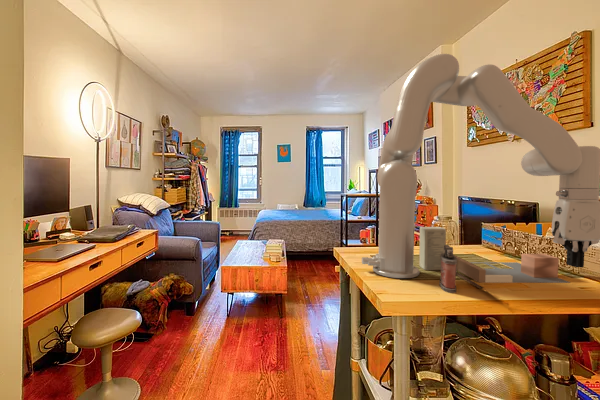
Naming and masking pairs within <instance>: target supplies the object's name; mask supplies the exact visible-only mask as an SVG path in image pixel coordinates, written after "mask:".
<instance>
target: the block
mask: <svg viewBox="0 0 600 400" xmlns="http://www.w3.org/2000/svg"><path fill="white" fill-rule="evenodd" d="M520 259H521V261H520V264H521V272H522V273H524V274H527V275H529V276H531V277H534V278H559V261H560V258H559V257H556V256H552V255H549V254H547V253H521V258H520Z"/></svg>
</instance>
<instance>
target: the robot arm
mask: <svg viewBox="0 0 600 400" xmlns="http://www.w3.org/2000/svg"><path fill="white" fill-rule="evenodd" d="M459 73H460V64H459V61H458V59H457V58H456V57H455V56H454V55H453V54H450V53H440V54H436V55H432V56H430V57H429V58H427V59H425V60H424V61H422V62H421V63H419V64H418V65H417V66H416V67H415V68H414V69H413V70H412V71H411V72H410V74H409V75H408V76H407V77H406V79H405V81H404V83H403V84H402V87H401V89H400V93H399V95H398V98H397V102H396V106H395V110H394V114H393V119H392V124H391V127H390V129H389V131H388V133H387V134H386V136H385V137H384V140H383V145H382V150H381V154H380V160H379V164H378V170H377V174H376V176H377V177H376V179H377V184H378V186H379V202H378V205H379V206H378V207H379V208H378V253H375V256H374V255H373V256H372V257H367V256H366V257H364V256H363V257H361V265H367V266H371V267H372V271H373V272H374V273H375V274H377V275H378V276H379V275H380V276H383V277H388V278H393V279H411V278H416V277H418V276H419V275H420V269H419V268H418V267H416V266H415V265H414V261H415V260H414V258H415V257H414V255H415V253H414V252H415V248H414V247H415V212H416V211H415V209H416V197H417V189H418V175H417V172H416V169H415V168H414V166H413V165H412V163H413V159H414V154H416V152H418V150H419V149H420V148H421V146H422V143H423V138H424V133H425V126H426V123H427V116H428V113H429V109H430V106H431V103H438V104H443V105H445V104H446V105H451V106H459V107H474V106H475V107H476V106H478V107H479V109H480V110H481V111H482V112H483V114H484V115H485V116H486V118H487V119H488V120H489V122H490V123H491V124H492V126H493V127H494V128H495V129H497V130H499V131H501V132H504V133H506V134H510V135H514V136H517V137H519V138H521V139H523V140H524V141H526V142H527V143H528V144H529V145H531V146H532V147H533V149H531V150H529V151H528V152H526V153H525V154H524V155H523V157H522V158H521V163H520V165H521V168H522V170H523V171H524V172H525V173H527V174H529V175H531V176H534V177H549V176H550V177H551V176H559V184H558V185H559V186H558V190H557V191H556V192H555V196H556V197H558V200H556V201H555V204H554V209H553V212H552V213H553V214H552V218H551V220H552V221H551V234H552V236H553V240H552V242H553V243H554V244H559V245H561V246H563V249H564V250H565V251H566V265H568V266H570V267H573V268H584V266H585V253H588V250H589V247H591V246H592V245H596V244H599V243H600V148H599V147H598V146H595V145H583V146H580V145H578V144H577V142H576V141H575V140H574V138H573V137H572V136H571V134H569V131H567V130H566V128H564V127H563V125H561V124H560V123H559V122H557V121H555V120H554V119H552V118H551V117H549V116H547V115H546V114H544V113H542V112H541V111H538V110H537V109H535V108H533V107H532V106H531V105H530V104H529V103H527V100H525V99H524V97H523V96H522V95H521V93H520V92H519V91H518V89H516V87H515V86H514V84H513V83H512V82H511V81H510V80H509V78H508V77H507V76H506V75H505V73H504V72H503V71H502V70H501V68H500V67H498V66H497V65H495V64H490V63H487V64H483V65H481V66H479V67H477V68H475V69H474V70H473V71H471V72H470V73H469V74H468V75H459Z"/></svg>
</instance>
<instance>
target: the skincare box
mask: <svg viewBox="0 0 600 400" xmlns="http://www.w3.org/2000/svg"><path fill="white" fill-rule="evenodd" d="M446 242H447V229H446V228H443V227H440V226H419V249H418V250H419V253H418V254H419V255H418V256H419V261H418V266H419V267H420V268H421V269H423V270H424V271H441V259H440V254H441V253H444V245H447V244H446Z"/></svg>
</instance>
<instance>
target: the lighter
mask: <svg viewBox="0 0 600 400" xmlns="http://www.w3.org/2000/svg"><path fill="white" fill-rule="evenodd" d="M454 255H455V254H454V247H452V246H450V245H449V244H446V245H444V253H441V254H440V259H441V270H440V279H439V287H440V289H442V290H443V292H446V293H450V294H454V293H457V285H456V280H457V279H456V278H457V277H456V276H457V275H456V273H457V271H458V270H457V267H456V264H457V258H456V257H455V256H456V255H455V256H454Z"/></svg>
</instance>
